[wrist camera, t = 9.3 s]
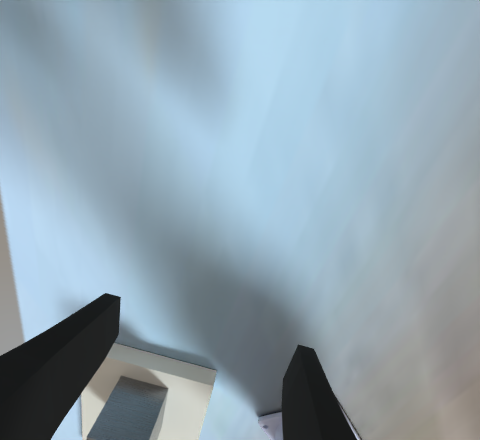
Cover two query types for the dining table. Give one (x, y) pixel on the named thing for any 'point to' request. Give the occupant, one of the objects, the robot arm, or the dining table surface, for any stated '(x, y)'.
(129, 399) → the grey hollow block
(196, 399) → the housing base
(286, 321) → the dining table surface
